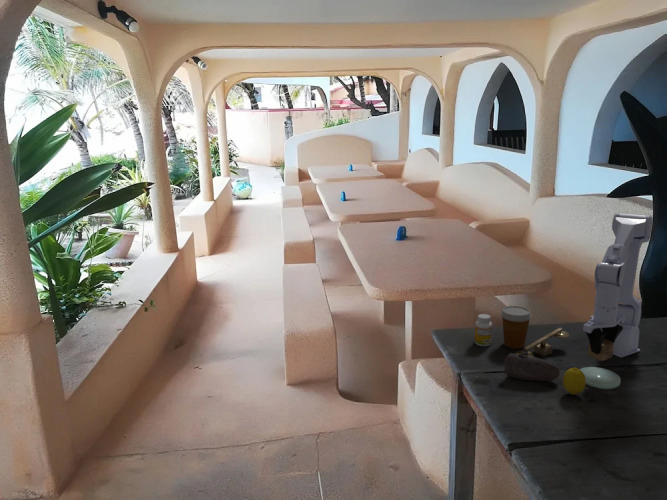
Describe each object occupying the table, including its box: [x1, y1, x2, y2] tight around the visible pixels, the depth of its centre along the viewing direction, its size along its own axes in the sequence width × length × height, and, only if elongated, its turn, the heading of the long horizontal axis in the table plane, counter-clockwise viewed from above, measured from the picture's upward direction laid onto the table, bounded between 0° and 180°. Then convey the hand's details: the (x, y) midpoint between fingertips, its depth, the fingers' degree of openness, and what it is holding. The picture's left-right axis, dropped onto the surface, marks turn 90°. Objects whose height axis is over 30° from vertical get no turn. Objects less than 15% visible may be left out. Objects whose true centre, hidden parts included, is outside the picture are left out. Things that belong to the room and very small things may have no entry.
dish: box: [579, 366, 622, 390], centre depth 149 cm, size 11×11×1 cm
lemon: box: [562, 367, 586, 396], centre depth 141 cm, size 6×6×8 cm
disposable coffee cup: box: [500, 305, 532, 349], centre depth 172 cm, size 10×10×12 cm
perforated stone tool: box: [503, 352, 560, 382], centre depth 150 cm, size 15×5×7 cm, turn 68°
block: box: [587, 339, 614, 362], centre depth 147 cm, size 4×4×4 cm
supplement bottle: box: [474, 313, 493, 347], centre depth 174 cm, size 5×5×10 cm
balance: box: [515, 327, 570, 357], centre depth 166 cm, size 21×5×7 cm, turn 117°
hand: (601, 350), depth 147 cm, fingers closed on block, 4 cm apart
